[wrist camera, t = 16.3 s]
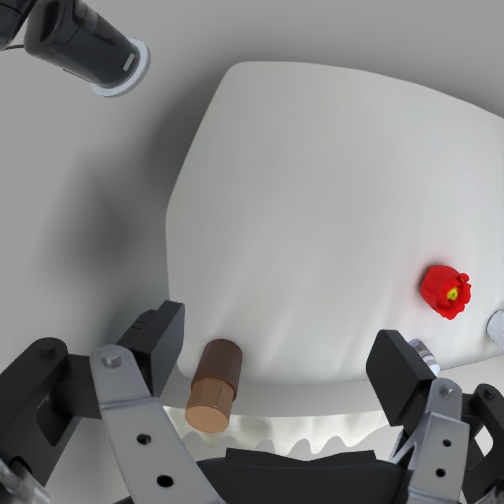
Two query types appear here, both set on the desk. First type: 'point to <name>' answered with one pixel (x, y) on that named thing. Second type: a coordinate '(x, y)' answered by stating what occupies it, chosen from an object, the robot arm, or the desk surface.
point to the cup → (497, 329)
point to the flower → (446, 290)
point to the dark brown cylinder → (220, 363)
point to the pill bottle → (426, 355)
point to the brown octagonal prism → (209, 405)
